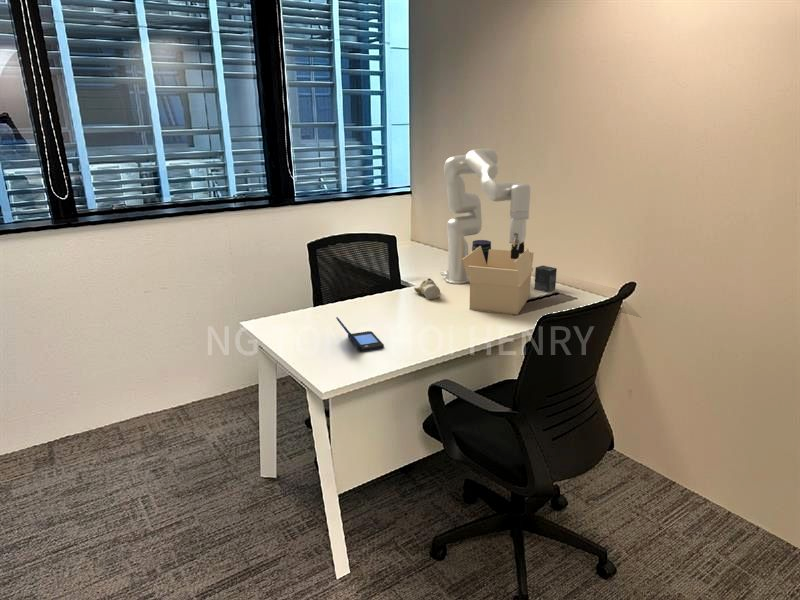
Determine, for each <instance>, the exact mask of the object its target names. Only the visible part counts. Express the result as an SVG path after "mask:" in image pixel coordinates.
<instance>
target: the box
mask: <svg viewBox="0 0 800 600" xmlns="http://www.w3.org/2000/svg"><path fill="white" fill-rule="evenodd" d="M557 270H558V269H557V267H551V266H548V265H540V266H536V267H535V272H534V290H537V291H541V292H547V293H550V292H553V291H556V281H557Z"/></svg>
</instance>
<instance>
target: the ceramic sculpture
mask: <svg viewBox="0 0 800 600" xmlns="http://www.w3.org/2000/svg"><path fill="white" fill-rule="evenodd" d="M414 291H415V292H416V293H417V294H422V295H423V296H425V298H426V299H428V300H435V299H438V297H439V296H440V293H441V290H440V288H439V286H438V285H437V284H436V282H434V280H432V279H431V278H427V279H426V280H423V281H422V282H421V284H420V286H419V287H414Z"/></svg>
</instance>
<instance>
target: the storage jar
mask: <svg viewBox="0 0 800 600" xmlns="http://www.w3.org/2000/svg"><path fill="white" fill-rule="evenodd" d="M471 245H472V246H471V252H472V251H474V250H475V249H476V248H478V247H479V246H481V248H482V251H483V254H484V257H485V260H486V264H487V261H488V253H489V249H492V242H491V240H487V239H476V240H473V241H472V243H471Z"/></svg>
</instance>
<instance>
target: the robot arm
mask: <svg viewBox="0 0 800 600" xmlns="http://www.w3.org/2000/svg"><path fill="white" fill-rule="evenodd" d="M498 160H499V159H498V154H497V152H496V151H495V150H494V149H492V148H475V149H471V150H469V151H468V152H467V153H466V154H464V155H460V154H459V155H453V156H450V157H448V158H447V159H446V160H445V162H444V164H443V174H444V175H443V176H444V179H445V183H446V190H447V192H446V193H447V207H448V210H449V212H450V213H451V214H453V215H459V214H460V215H461V214H466V215H463V216H460V215H459V216H454V217H452V218H450V219H449V220H447V222H446V233H447V240H448V242H447V243H448V245H447V246H448V251H447V252H448V258H447V259H448V263H447V264H448V267H447V269H448V270H447V271H446V270H440V275H441V276H444V281H445V282H446V283H450V284H454V285H455V284H456V285H457V284H458V285H461V284H467V283H470V282H469V279H468V276H467V273H466V270H465V267H464V264H463V261H462V259H463V258H464V257H466V256H467V255H468V254H469V244H468V242H467V240H466V238H465V237H467V236H474V235H478V234H479V233H480V232H481V230H482V227H483V226H482V224H483V223H482V222H483V221H482V206H481V205H482V204H481V199H480V197H479V195H478V194H477V193H475V192H467V191H466V184H465V183H466V182H465V181H464V180H463V177H462V176H461V175H472V174H473V175H474V174H476V175H477V176H478V177H479V178H480V182H479V183H480V188H481V191H482V192H483V193H484V195H485V196H486V197H487V198H488V199H489V200H491V201H493V202H498V203H499V202H505V201H510V206H509V208H510V209H509V210H510V211H509V219H510V228H509V239H508V243H509V244H511V247H510V251H511V259H517V258H519V254H522V253H523V252H524V251H525V240H526V235H527V220H530V204H531V203H530V202H531V201H530V200H531V186H530V184H527V183H519V182H518V181H505V182H504V181H503V182H496V181H494V180H495V178H496V177H497V175H498V173H499V167H498V165H497V164H498Z"/></svg>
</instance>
